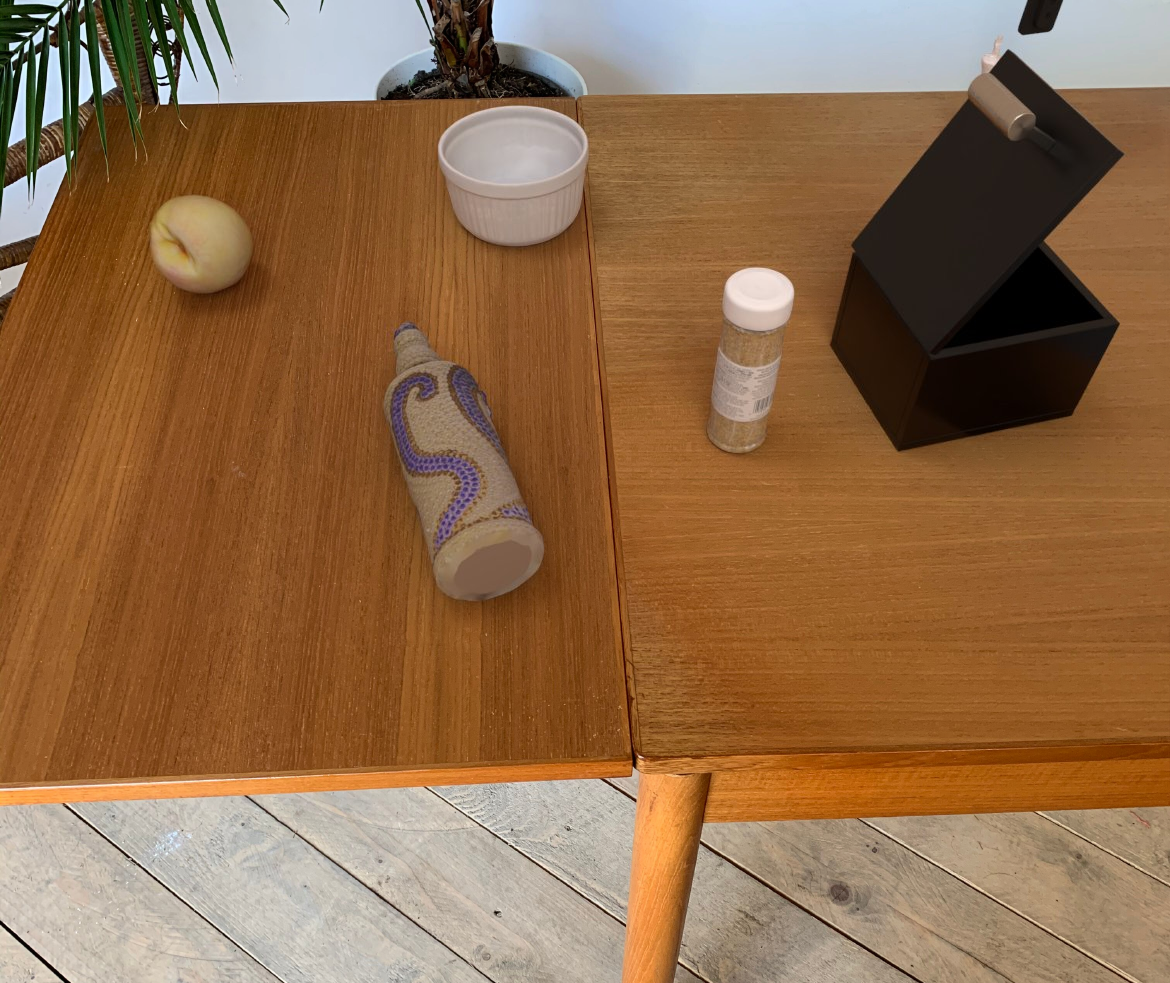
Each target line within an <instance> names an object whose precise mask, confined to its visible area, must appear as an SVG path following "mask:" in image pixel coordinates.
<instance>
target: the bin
mask: <svg viewBox="0 0 1170 983" xmlns="http://www.w3.org/2000/svg"><path fill="white" fill-rule="evenodd" d="M1120 325H1121V323H1120V321H1119V320H1118V319H1117V318H1116V317H1115V316H1114V315H1113V314H1112V313H1111V312H1110V310H1108V309H1107V308H1106V306H1104V304H1103V303H1102V302H1101V301H1100V300H1099V298H1097V297H1096V295H1095V294H1093V292H1092V291H1091V290H1090V289H1089V288H1088V287H1087V286H1086V284H1084V283H1083V281H1081V279H1080V278H1079V277H1078V276H1077V275H1076V274H1075V272H1073V271H1072V270H1071V269H1070V267H1069V266H1068V265H1067V264H1066V263H1065V262H1064V261H1063V260H1062V258H1060V257H1059V255H1058V254H1057V253H1056V252H1055V251H1054V250H1053V249H1052V248H1051V247H1050V245H1049V244H1048V243H1046V241H1045V240H1044V241H1043V242H1042V243H1041V244H1040V245H1039V246H1038V247H1037V248H1036V249H1035V250H1034V252H1033V253H1032V254H1031V255H1030V256H1029V257H1028V258H1027V259H1026V260H1025V261H1024V262H1023V263H1022V264H1021V265H1020V266H1019V267H1018V269H1017V270H1016V271H1015V272H1014V273H1013V274H1012V275H1011V276H1010V277H1009V278H1008V279H1007V280H1006V281H1005V282H1004V283H1003V285H1002V286H1001V287H1000V288H999V289H998V290H997V291H996V292H995V293H994V294H993V295H992V296H991V297H990V298H989V299H988V301H987V302H986V303H985V304H984V305H983V306H982V307H981V308H980V309H979V310H978V311H977V312H976V313H975V314H974V315H973V316H972V318H971V319H970V320H969V321H968V322H967V323H966V324H965V325H964V326H963V327H962V328H961V329H960V330H959V331H958V332H957V334H956V335H955V336H954V337H953V338H952V339H951V340H950V341H949V342H948V343H947V344H946V345H945V346H944V347H943V348H942V350H941V351H940V352H939V353H938V354H937V355H936V356H935V355H933V354H930V353H928V351H927V350H926V349H925V347H924V346H923V345H922V343H921V342H920V340H919V339H918V338H917V336H916V335H915V333H914V332H913V331H912V329H911V328H910V327H909V325H908V324H907V322H906V321H905V320H904V318H903V317H902V316H901V314H900V313H899V311H898V310H897V309H896V307H895V306H894V304H893V303H892V302H891V300H890V299H889V298H888V296H887V295H886V293H885V292H884V291H883V289H882V288H881V286H880V285H879V284H878V282H877V281H876V280H875V278H874V277H873V275H872V274H871V273H870V271H869V270H868V268H867V267H866V266H865V264H864V263H863V262H862V260H861V259H860V257H859V256H858V255H857V253H856V252H855V251H853V252H852V253H851V257H850V261H849V265H848V270H847V274H846V278H845V281H844V285H843V290H842V293H841V298H840V302H839V307H838V311H837V314H836V318H835V323H834V327H833V331H832V335H831V339H830V344H829V346H830V347H831V349H832V351H833V352H834V353H835V355H836V357H837V358H838V360H839V362H840V363H841V365H842V366H843V368H844V370H845V371H846V373H847V374H848V376H849V377H850V379H851V380H852V382H853V383H854V386H855V387H856V388H857V390H858V392H859V393H860V395H861V396H862V398H863V399H864V401H865V402H866V404H867V405H868V407H869V409H870V410H871V412H872V413H873V415H874V417H875V418H876V419H877V421H878V423H879V424H880V426H881V427H882V429H883V431H884V432H885V434H886V435H887V437H888V438H889V440H890V441H891V443H892V445H893V446H894V448H895V449H896V451H897V452H904V451H909V450H914V449H917V448H923V447H927V446H932V445H937V444H941V443H946V442H952V441H956V440H961V439H966V438H971V437H977V436H980V435H986V434H990V433H995V432H999V431H1000V432H1001V431H1005V430H1010V429H1013V428H1020V427H1024V426H1025V427H1026V426H1029V425H1034V424H1039V423H1044V422H1048V421H1049V422H1050V421H1052V420H1057V419H1062V418H1068V417H1073V415H1074V412H1075V411H1076V409H1077V407H1078V405H1079V403H1080V401H1081V399H1082V397H1083V395H1084V393H1085V392H1086V390H1087V389H1088V386H1089V384H1090V382H1091V380H1092V379H1093V377H1094V375H1095V372H1096V371H1097V369H1098V367H1099V365H1100V363H1101V361H1102V360H1103V357H1104V355H1105V353H1106V352H1107V350H1108V348H1109V346H1110V344H1111V342H1112V340H1113V338H1114V337H1115V335H1116V333H1117V330H1118V329H1119V327H1120Z"/></svg>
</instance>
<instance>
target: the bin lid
mask: <svg viewBox="0 0 1170 983" xmlns="http://www.w3.org/2000/svg"><path fill="white" fill-rule="evenodd" d="M1001 56H1002V57H1001V58H1000V59H999V61H998V62H997V63H996V64H995V66H994V67H993V68H992V69H991V71H990V72H989V73H983V74H982V73H981V74H979V75H977V76H976V77H975V78H974V79H973V80H972V81H971V82H970V84H969V86H968V88H967V99H966V100H965V102H963V104H962V105H961V107H960V108H959V109H958V110H957V112H956V113H955V114H954V115H953V116H952V117H951V119H950V120H949V122H948V123H947V124H946V125H945V127H944V128H943V129H942V130H941V132H940V133H939V134H938V135H937V136H936V138H935V139H934V140H933V142H932V143H931V144H930V145H929V147H928V148H927V149H926V150H925V152H923V154H922V155H921V157H919V159H918V160H917V162H916V163H915V164H914V165H913V166H912V168H911V169H910V170H909V172H908V173H907V174H906V175H905V176H904V177H903V179H902V180H901V181H900V183H899V184H898V185H897V186H896V188H895V189H894V190H893V191H892V192H891V194H890V195H889V196H888V197H887V199H886V200H885V201H884V202H883V204H881V206H880V208H879V209H878V210H877V211H876V212H875V213H874V215H873V216H872V217H871V219H870V220H869V221H868V222H867V224H866V225H865V226H864V228H863V229H862V230H861V231H860V233H859V234H858V235H857V236H856V238H855V239H854V240H853V241H852V242H851V244H850V247H851V248H852V249H853V250H854V251H853V252H856V253H857V255H858V256H859V257H860V259H861V260H862V262H863V263H864V264H865V266H866V267H867V268H868V270H869V271H870V273H871V274H872V275H873V277H874V278H875V280H876V281H877V282H878V284H879V285H880V286H881V288H882V289H883V291H884V292H885V293H886V295H887V296H888V298H889V299H890V300H891V302H892V303H893V304H894V306H895V307H896V309H897V310H898V311H899V313H900V314H901V316H902V317H903V318H904V320H905V321H906V322H907V324H908V325H909V327H910V328H911V329H912V331H913V332H914V333H915V335H916V336H917V338H918V339H919V340H920V342H921V343H922V345H923V346H924V347H925V349H926V350H927V351H928V353H930V354H933V355H935V356H936V355H937V354H938V353H939V352H940V351H941V350H942V348H943V347H944V346H945V345H946V344H947V343H948V342H949V341H950V340H951V339H952V338H953V337H954V336H955V335H956V334H957V332H958V331H959V330H960V329H961V328H962V327H963V326H964V325H965V324H966V323H967V322H968V321H969V320H970V319H971V318H972V316H973V315H974V314H975V313H976V312H977V311H978V310H979V309H980V308H981V307H982V306H983V305H984V304H985V303H986V302H987V301H988V299H989V298H990V297H991V296H992V295H993V294H994V293H995V292H996V291H997V290H998V289H999V288H1000V287H1001V286H1002V285H1003V283H1004V282H1005V281H1006V280H1007V279H1008V278H1009V277H1010V276H1011V275H1012V274H1013V273H1014V272H1015V271H1016V270H1017V269H1018V267H1019V266H1020V265H1021V264H1022V263H1023V262H1024V261H1025V260H1026V259H1027V258H1028V257H1029V256H1030V255H1031V254H1032V253H1033V252H1034V250H1035V249H1036V248H1037V247H1038V246H1039V245H1040V244H1041V243H1042V242H1043V241H1045V240H1046V239H1047V238H1048V237H1049V236H1050V235H1051V234H1052V232H1054V230H1056V228H1057V227H1058V226H1059V225H1060V224H1061V223H1062V222H1063V221H1064V220H1065V219H1066V217H1067V216H1068V215H1070V213H1071V212H1072V211H1073V210H1074V209H1075V208H1076V207H1077V206H1078V205H1079V204H1080V203H1081V201H1082V200H1084V198H1085V197H1086V196H1087V195H1088V194H1089V193H1091V191H1092V190H1093V189H1094V188H1095V187H1096V186H1097V185H1098V184H1099V182H1100V181H1101V180H1102V179H1103V178H1104V177H1105V176H1107V174H1108V173H1109V172H1110V171H1111V170H1112V169H1113V168H1114V166H1116V165H1117V163H1118V162H1119V161H1120V160H1121V159H1122V158H1123V157H1124V156H1125V152H1124V151H1122V149H1120V148H1119V147H1118V146H1117V145H1116V144H1115V143H1114V142H1113V141H1112V140H1111V139H1109V137H1107V135H1105V134H1104V133H1103V132H1102V131H1101V130H1100V129H1098V127H1096V126H1095V125H1094V124H1093V123H1092V122H1091V121H1090V120H1089V119H1088V118H1086V116H1084V115H1083V114H1082V113H1081V112H1080V111H1078V110H1077V109H1076V108H1075V106H1073V105H1072V104H1071V103H1070V102H1068V101H1067V99H1065V98H1064V97H1063V96H1062V95H1061V94H1060V92H1058V91H1057V90H1055V88H1053V87H1052V86H1051V85H1050V84H1049V83H1048V82H1047V81H1046V80H1045V79H1044V78H1042V77H1041V75H1039V74H1038V73H1037V72H1036V71H1035V70H1034V69H1033V68H1031V66H1029V65H1028V64H1027V63H1026V62H1025V61H1024V60H1023V59H1022V58H1020V57H1019V56H1018V55H1017V54H1016V53H1015V52H1014V51H1012V50H1011V49H1009V48H1008V49H1006V51H1005V52H1004V53H1003V54H1002V55H1001Z"/></svg>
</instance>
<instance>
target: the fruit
mask: <svg viewBox="0 0 1170 983" xmlns="http://www.w3.org/2000/svg"><path fill="white" fill-rule="evenodd" d="M155 213H156V214H155V215H154V217H153V219H152V221H151V224H150V229H149V253H150V256H151V260H152V263H153V265H154V267H155V268H156V270H157V271H158V272H159V273H160V275H162V277H163V278H164V279H165V280H166V281H167V282H169V283H170V284H171V285H173V286H175V287H176V288H177V289H180V290H183V291H186V292H189V293H193V294H214V293H217V292H221V291H223V290H225V289H228V288H230V287H233V286H234V285H236V284H237V283H238V282H239V281H241V279H242V278H243V277H244V275H245V273H246V272H247V270H248V268H249V266H250V263H251V261H252V260H251V259H252V256H253V252H254V240H253V236H252V233H251V230H250V228H249V226H248V224H247V223H246V221H245V219H244V218H243V216H241V215H240V213H239V212H238V211H237V210H235V209H234V208H233V207H231V206H230V205H228V204H227V203H225V202H223V201H221V200H219V199H217V198H214V197H210V196H205V195H201V194H188V195H181V196H175V197H173V198H170V199H169V200H167V201H165V202H164V203H163V204H161V205H160V207H159V208H158V210H157V211H156V212H155Z"/></svg>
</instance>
